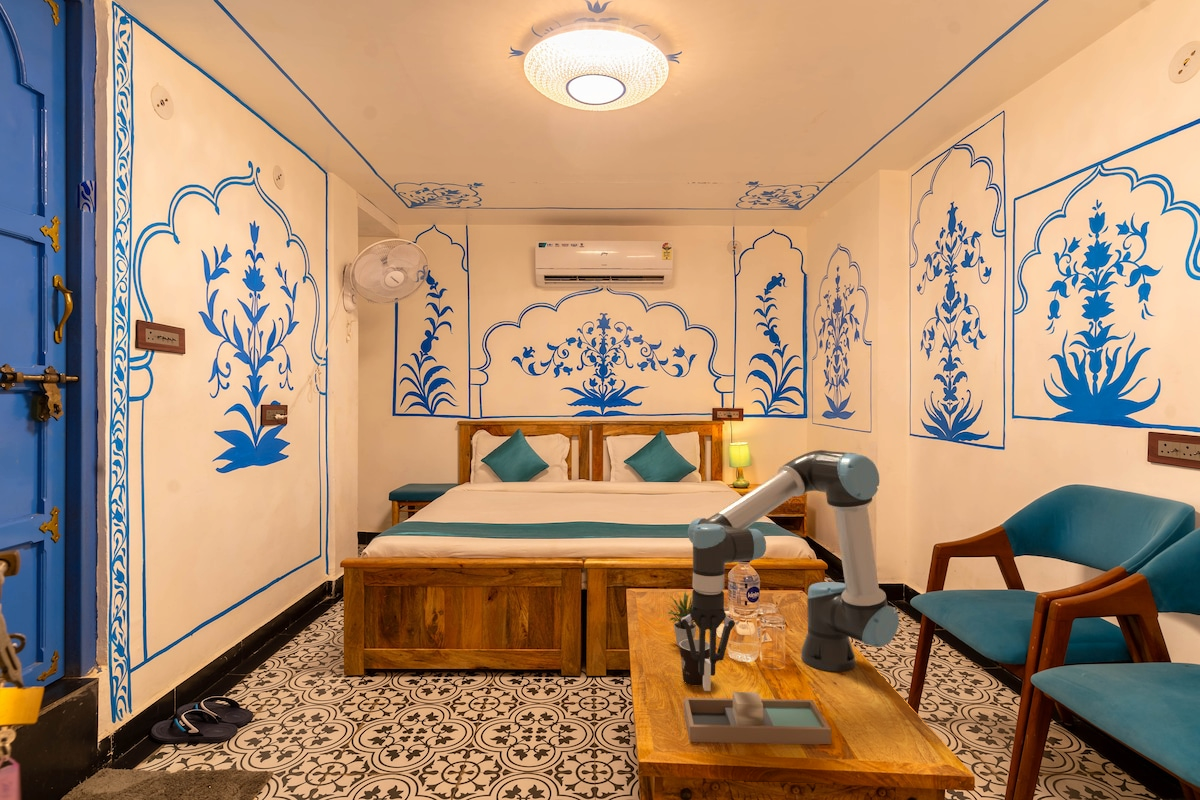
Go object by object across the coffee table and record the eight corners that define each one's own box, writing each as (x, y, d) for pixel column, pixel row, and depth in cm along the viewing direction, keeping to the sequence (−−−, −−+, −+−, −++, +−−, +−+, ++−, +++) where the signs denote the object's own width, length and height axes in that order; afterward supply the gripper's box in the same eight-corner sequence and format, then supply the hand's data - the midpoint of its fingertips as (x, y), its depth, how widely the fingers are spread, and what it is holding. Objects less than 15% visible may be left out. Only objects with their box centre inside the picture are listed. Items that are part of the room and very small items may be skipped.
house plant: (659, 634, 212) (659, 585, 212) (701, 635, 212) (702, 585, 212) (662, 651, 198) (662, 599, 198) (707, 652, 198) (707, 599, 198)
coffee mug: (709, 689, 174) (710, 652, 173) (677, 686, 175) (678, 649, 175) (711, 670, 185) (711, 636, 185) (681, 668, 187) (681, 633, 186)
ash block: (757, 712, 157) (757, 692, 157) (762, 725, 151) (763, 704, 151) (732, 712, 157) (732, 692, 157) (737, 725, 151) (737, 704, 151)
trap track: (812, 713, 160) (812, 699, 160) (830, 744, 146) (831, 729, 146) (683, 711, 161) (683, 697, 161) (689, 741, 147) (689, 726, 147)
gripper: (732, 586, 157) (731, 682, 157) (679, 584, 158) (677, 680, 158) (738, 595, 150) (736, 696, 150) (682, 594, 150) (680, 694, 150)
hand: (706, 688), depth 154 cm, fingers closed
